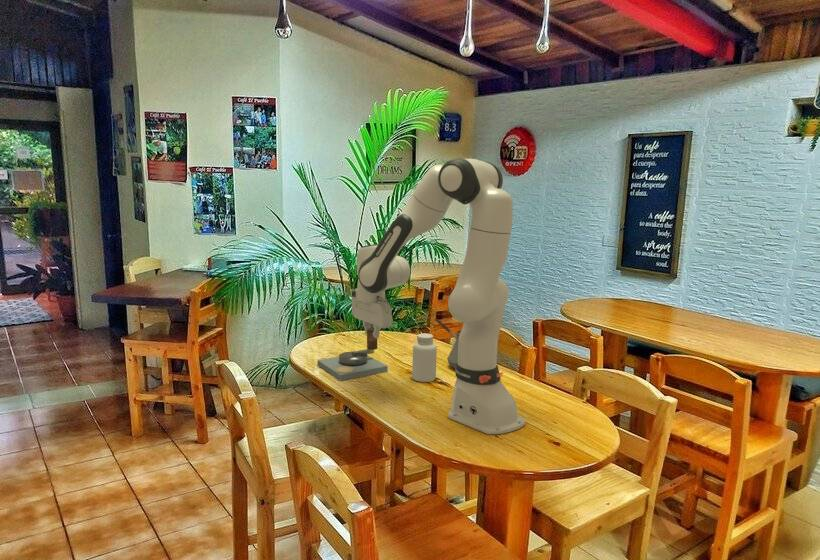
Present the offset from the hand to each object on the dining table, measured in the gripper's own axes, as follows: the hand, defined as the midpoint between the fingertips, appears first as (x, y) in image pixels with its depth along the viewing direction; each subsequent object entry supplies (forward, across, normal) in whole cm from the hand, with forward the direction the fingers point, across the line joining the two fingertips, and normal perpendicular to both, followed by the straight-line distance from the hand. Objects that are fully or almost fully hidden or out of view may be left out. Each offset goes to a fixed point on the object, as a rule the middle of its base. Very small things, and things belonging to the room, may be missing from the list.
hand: (372, 335), depth 185 cm
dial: (+13, +15, -2) cm, 20 cm away
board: (+15, +14, 0) cm, 20 cm away
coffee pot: (+16, 0, -34) cm, 37 cm away
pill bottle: (+16, -7, -16) cm, 23 cm away
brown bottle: (+4, 0, 0) cm, 4 cm away
